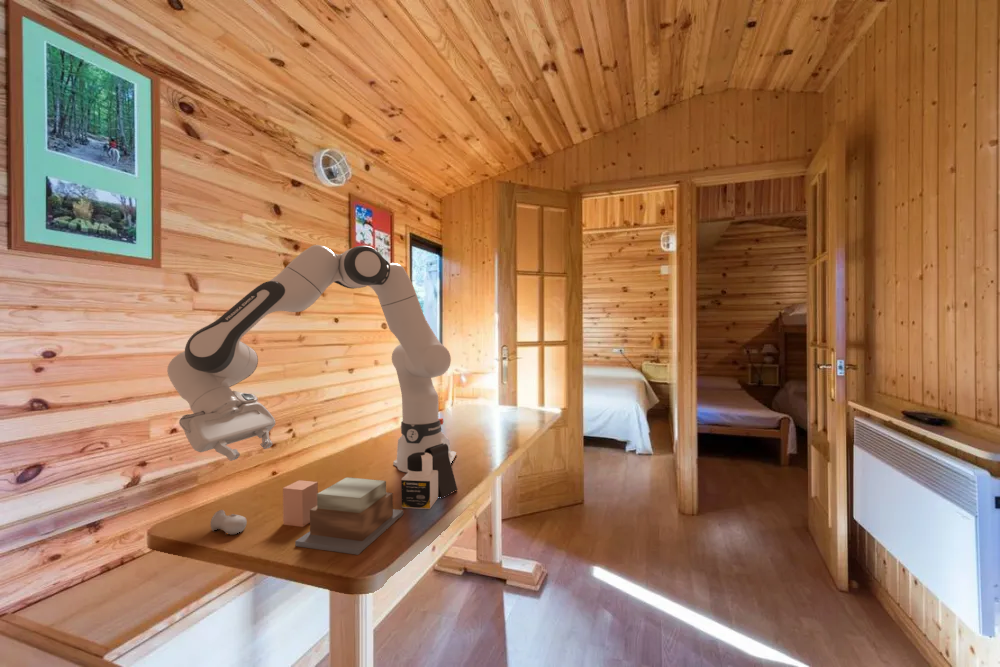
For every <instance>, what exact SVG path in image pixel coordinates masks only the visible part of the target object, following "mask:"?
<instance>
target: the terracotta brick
mask: <svg viewBox="0 0 1000 667" xmlns="http://www.w3.org/2000/svg"><path fill="white" fill-rule="evenodd" d="M318 484H319V482H318V481H310V480H300V479H299V480H296V481H295V482H292V483H290V484H288V485H286V486H284V487H282V513H283V516H282V518H283V520H282V521H283V522H282V524H283V525H284V526H294V527H301V528H303V527H305V526H306V525H308V524H310V509H312V508H314V507H316V506H317V494H318V493H319V491H318V490H319V487H318V486H319V485H318Z"/></svg>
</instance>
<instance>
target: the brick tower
mask: <svg viewBox="0 0 1000 667" xmlns="http://www.w3.org/2000/svg"><path fill="white" fill-rule="evenodd" d="M393 499H394V498H393V492H387V481H386V480H383V479H382V480H379V479H369V478H357V477H347V476H346V477H344V478H343V479H341V480H339V481H337V482H336V483H334V484H332V485H331V486H328V487H326V488H325V489H323V490H322V491H318V494H317V506H316V507H314V508H312V509H310V522H309V532H310V534H311V535H318V536H326V537H334V538H341V539H349V540H357V541H363V540H364V539H366V538H367V537H368V536H369V535H370V534H371V533H373V532H374V531H375V530H376V529H377V528H379V527H380V526H381V525H382V524H383V523H384V522H386V521H387V520H388V519H389V518H390V517H391V516H393V509H394V508H393V504H394V503H393V502H394V500H393Z"/></svg>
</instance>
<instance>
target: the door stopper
mask: <svg viewBox="0 0 1000 667" xmlns="http://www.w3.org/2000/svg"><path fill="white" fill-rule="evenodd" d="M448 451H449V448H448V446H447V444H443V443H442V444H439V445H436V446H433V447H430V448H427V449H425V452H426V453H429V454H431V455H432V463H433V470H437V471H438V497H441V498H442V497H444V496H446V495H448V494H450V493H451V492H453V491H455V490H458V487H457V483H456V479H455V475H454V471H453V467H452V465H451V463H450V459H449V455H448ZM450 495H451V494H450ZM448 496H449V495H448ZM446 497H447V496H446ZM444 498H445V497H444ZM442 499H443V498H442Z"/></svg>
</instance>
